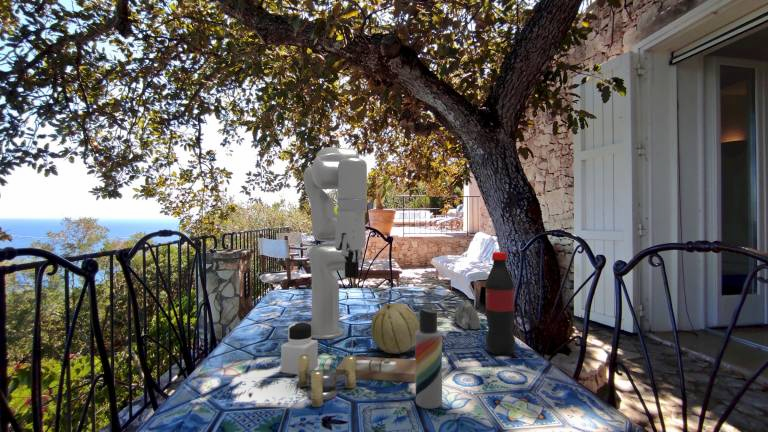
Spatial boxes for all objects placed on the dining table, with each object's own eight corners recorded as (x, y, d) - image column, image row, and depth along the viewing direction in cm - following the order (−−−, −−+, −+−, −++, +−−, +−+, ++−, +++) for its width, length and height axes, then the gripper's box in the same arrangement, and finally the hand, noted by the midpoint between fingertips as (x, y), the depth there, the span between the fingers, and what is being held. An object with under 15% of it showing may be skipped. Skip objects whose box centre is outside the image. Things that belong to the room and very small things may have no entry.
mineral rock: (454, 320, 156) (454, 295, 156) (482, 322, 153) (482, 296, 153) (450, 329, 144) (449, 301, 144) (480, 331, 140) (479, 303, 141)
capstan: (300, 383, 94) (300, 354, 95) (356, 384, 93) (356, 355, 94) (283, 406, 82) (283, 373, 82) (347, 408, 81) (347, 374, 81)
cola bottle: (511, 348, 121) (510, 251, 121) (518, 357, 112) (517, 252, 113) (483, 347, 121) (482, 250, 122) (488, 356, 113) (487, 252, 114)
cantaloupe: (426, 348, 121) (426, 299, 121) (409, 363, 108) (409, 309, 108) (383, 342, 127) (383, 296, 127) (362, 356, 114) (362, 304, 114)
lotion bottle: (413, 397, 86) (413, 306, 87) (438, 396, 87) (438, 306, 87) (418, 410, 81) (417, 312, 81) (445, 408, 81) (444, 312, 82)
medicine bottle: (318, 366, 106) (318, 322, 106) (304, 376, 99) (304, 328, 99) (295, 363, 108) (295, 320, 109) (280, 372, 101) (280, 326, 102)
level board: (335, 377, 98) (335, 358, 98) (346, 363, 108) (346, 346, 108) (415, 382, 95) (414, 362, 95) (418, 367, 105) (418, 349, 105)
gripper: (350, 207, 110) (349, 272, 110) (326, 206, 96) (325, 281, 96) (375, 207, 107) (374, 273, 108) (354, 206, 93) (354, 283, 93)
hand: (351, 277), depth 102 cm, fingers closed
